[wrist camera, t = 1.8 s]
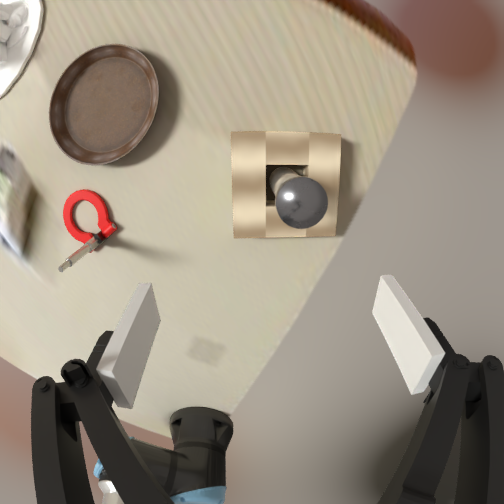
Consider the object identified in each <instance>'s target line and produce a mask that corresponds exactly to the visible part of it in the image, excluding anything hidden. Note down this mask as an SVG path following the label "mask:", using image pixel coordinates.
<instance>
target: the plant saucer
mask: <svg viewBox="0 0 504 504" xmlns="http://www.w3.org/2000/svg"><path fill="white" fill-rule="evenodd" d="M158 99H159V86H158V80H157V76H156V73H155V70H154V68H153V66H152V64H151V63H150V61H149V60H148V59H147V58H146V56H144V55H143V54H142V53H141V52H140V51H138V50H136V49H134V48H132V47H130V46H127V45H122V44H106V45H101V46H98V47H95V48H92V49H90V50H88V51H86V52H85V53H83V54H82V55H80V56H79V57H77V58H76V59H75V60H74V61H73V62H72V63H71V64H70V65H69V66H68V67H67V68H66V69H65V71H64V72H63V73H62V75H61V76H60V78H59V80H58V82H57V84H56V86H55V88H54V91H53V93H52V97H51V101H50V108H49V122H50V128H51V132H52V135H53V137H54V140H55V142H56V143H57V145H58V146H59V148H60V149H61V150H62V152H63V153H64V154H66V155H67V156H68V157H69V158H71V159H72V160H74V161H76V162H78V163H81V164H86V165H103V164H108V163H111V162H114V161H116V160H118V159H120V158H122V157H123V156H125V155H126V154H128V153H129V152H130V151H132V150H133V149H134V148H135V147H136V146H137V145H138V144H139V142H140V141H141V140H142V139H143V137H144V136H145V134H146V133H147V131H148V130H149V128H150V126H151V124H152V122H153V119H154V117H155V113H156V110H157V106H158Z"/></svg>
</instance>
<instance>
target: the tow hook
mask: <svg viewBox="0 0 504 504" xmlns="http://www.w3.org/2000/svg"><path fill="white" fill-rule="evenodd" d="M79 200H87V201H89V202H91V203H92V204H93V205H94V206H95V208H96V210H97V212H98V220H99V221H98V226H99V228H100V229H101V231H100V232H98V233H97V234H96V235H95V236H93V235H92V234H91V233H86V232H83V231H81V230H79V229H78V228H77V227H76V225H75V223H74V221H73V218H72V211H73V207H74V205H75V204H76V203H77V202H78V201H79ZM63 218H64V223H65V226H66V228H67V230H68V231H69V233H70V234H71V235H72V236H73V237H74V238H75V239H76V240H78V241H81V242H83V243H84V246H83V247H81V248H80V249H79V250H77V251H76V252H75V253H73V254H72V255H71V256H69V257H68V258H67V259H66V260H65V262H64V263H63V264H62V265H61V266H59V268H58V269H59V271H60V272H63V271H64V270H65V269H66V268H68V267H71V266H72V265H74V264H75V263H76V262H77V261H78V260H80V259H81V258H82V257H83V256H84V255H86V254H87V253H91V252H92V251H93V250H94V249H96V248H97V247H98V246H99V245H101V244H102V243H103V242H104V241H105V240H106V239H107V238H108V237H109V236H110V235H111V234H112V233H113V232H114V231H115V230H117V226H116V224H115V223H113V222H111V221H110V220H109V219H108V211H107V207H106V205H105V203H104V201H103V200H102V199H101V197H100V196H99V195H97V194H96V193H95V192H93V191H90V190H79V191H76V192H74V193H73V194H71V195H70V196H69V198H68V199H67V200H66V203H65V205H64V210H63Z"/></svg>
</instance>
